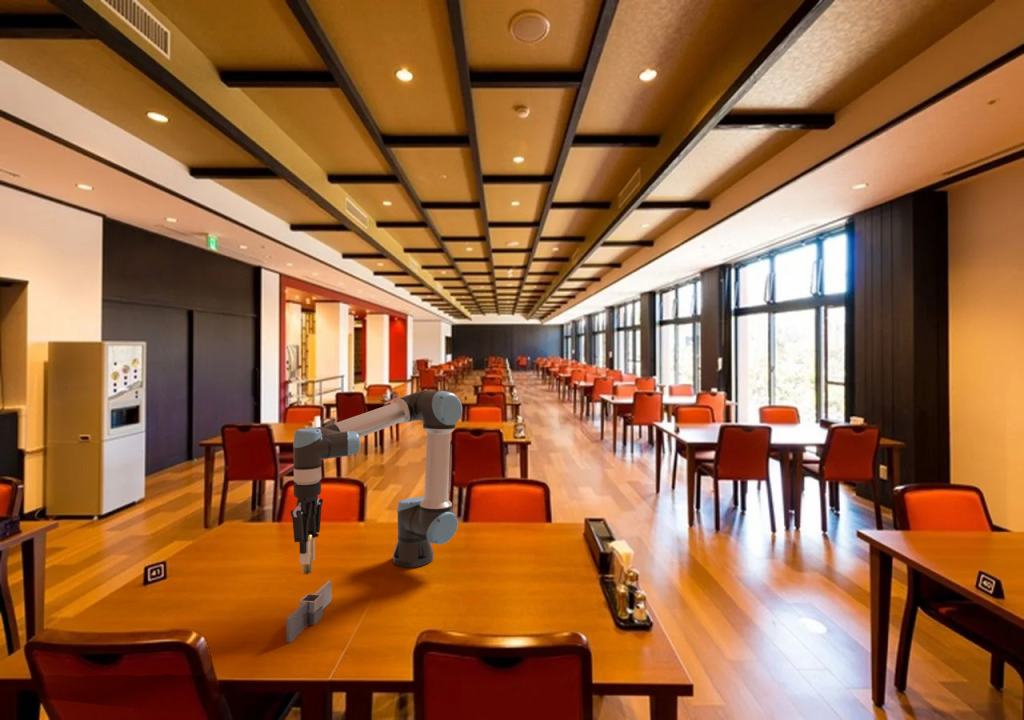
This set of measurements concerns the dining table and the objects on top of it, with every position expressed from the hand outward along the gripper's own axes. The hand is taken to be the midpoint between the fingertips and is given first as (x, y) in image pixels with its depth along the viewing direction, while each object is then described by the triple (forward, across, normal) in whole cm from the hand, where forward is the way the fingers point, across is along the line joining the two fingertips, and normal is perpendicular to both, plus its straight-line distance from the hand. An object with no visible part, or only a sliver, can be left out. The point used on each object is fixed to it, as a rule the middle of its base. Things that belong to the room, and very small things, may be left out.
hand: (307, 561), depth 144 cm
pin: (+3, 0, 0) cm, 3 cm away
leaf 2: (+17, +6, +2) cm, 18 cm away
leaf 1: (+16, -3, +2) cm, 17 cm away
